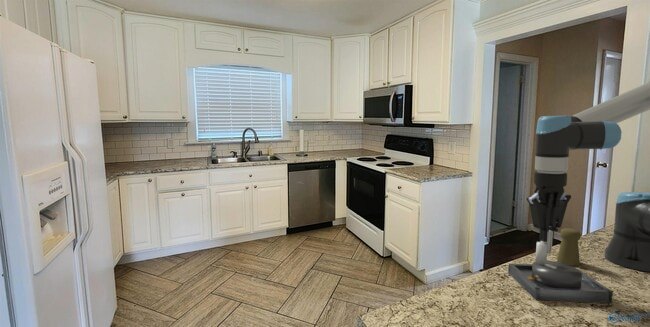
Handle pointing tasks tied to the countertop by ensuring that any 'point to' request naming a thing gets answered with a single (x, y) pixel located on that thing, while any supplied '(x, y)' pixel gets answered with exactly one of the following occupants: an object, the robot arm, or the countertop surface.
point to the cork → (569, 247)
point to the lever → (554, 271)
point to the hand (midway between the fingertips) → (545, 251)
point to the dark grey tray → (540, 291)
